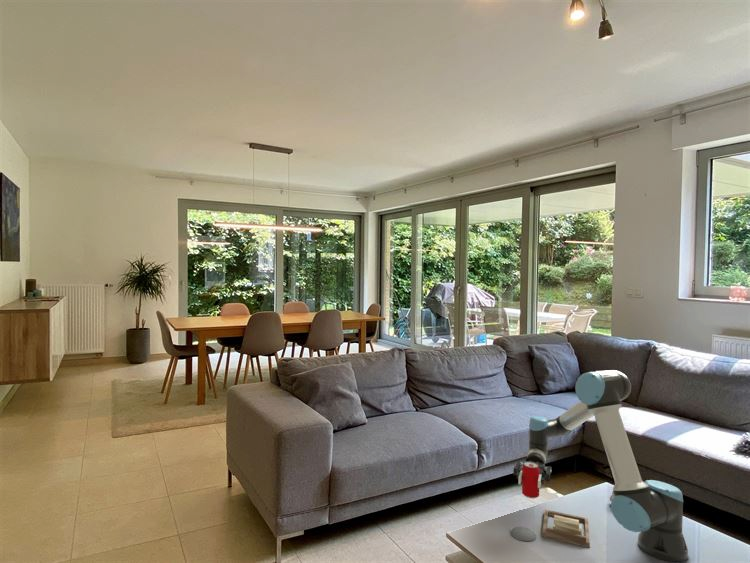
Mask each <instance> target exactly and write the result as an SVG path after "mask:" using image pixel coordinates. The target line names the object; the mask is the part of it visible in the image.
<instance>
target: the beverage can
mask: <svg viewBox="0 0 750 563" xmlns="http://www.w3.org/2000/svg"><path fill="white" fill-rule="evenodd" d="M521 468H522V482H521V493H522V495H523V496H524V497H526V498H529V499H537V498H539V496H540V488H538V478H539V475H540V470H539V467H538V464H536V463H534V462H525V463H524V465H523V466H522V467H521Z"/></svg>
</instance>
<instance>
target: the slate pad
mask: <svg viewBox="0 0 750 563" xmlns="http://www.w3.org/2000/svg"><path fill="white" fill-rule="evenodd" d="M510 534H511V536H512V537H513V538H514V539H516V540H519V541H522V542H527V543H528V542H533V541H535V540H536V539H537V534H536V532H535V531H534V530H533V529H530V528H528V527H524V526H515V527H512V528H511V530H510Z"/></svg>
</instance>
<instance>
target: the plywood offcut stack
mask: <svg viewBox="0 0 750 563" xmlns="http://www.w3.org/2000/svg"><path fill="white" fill-rule="evenodd" d="M552 529H555V530H560V531H564V532H569V533H573V534H578V535H582V536H583V532H582V531H583V528H582V526H581V525H580V522H579V520H576V519H571V518H566V517H562V516H557V515H554V516H553V525H552Z"/></svg>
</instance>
